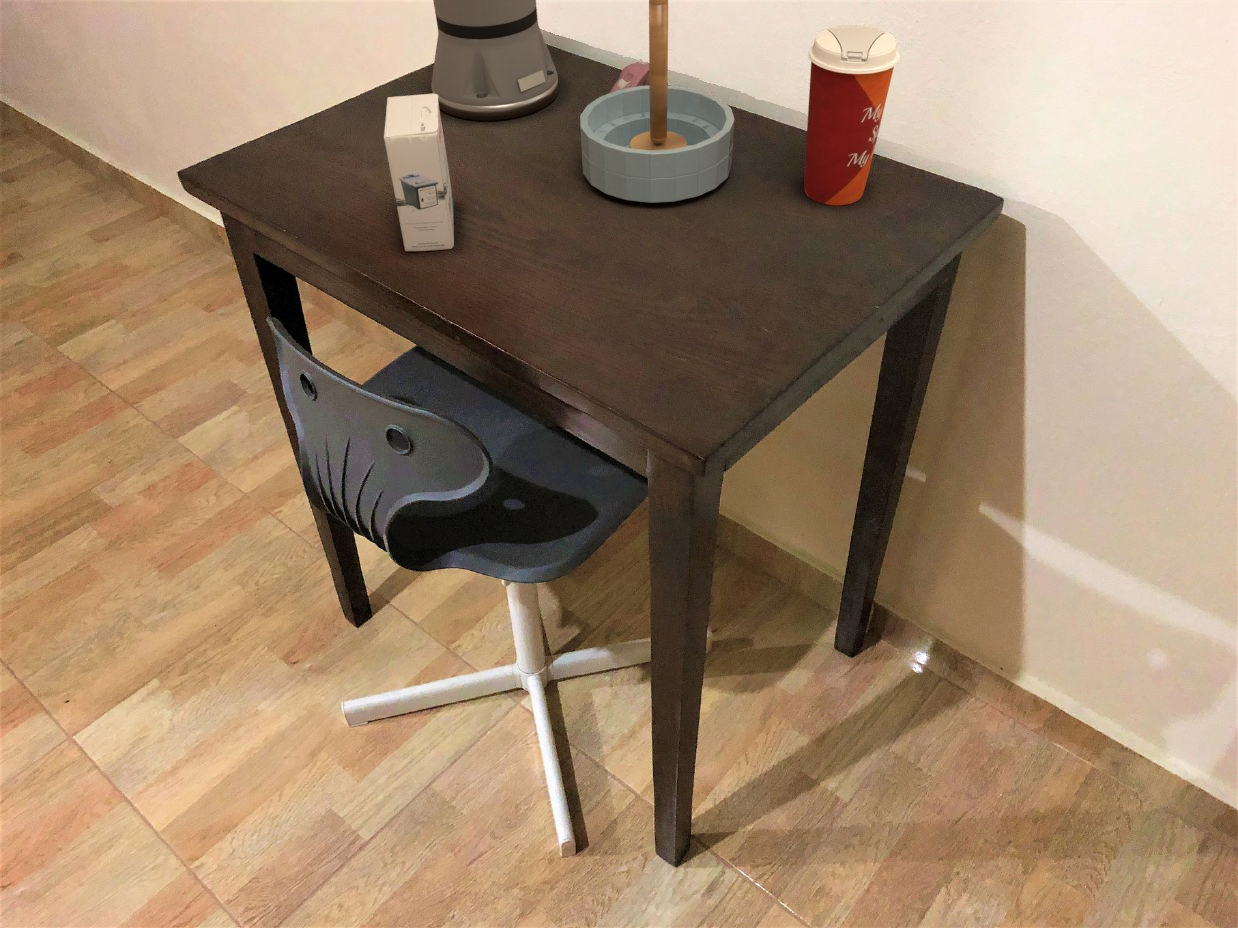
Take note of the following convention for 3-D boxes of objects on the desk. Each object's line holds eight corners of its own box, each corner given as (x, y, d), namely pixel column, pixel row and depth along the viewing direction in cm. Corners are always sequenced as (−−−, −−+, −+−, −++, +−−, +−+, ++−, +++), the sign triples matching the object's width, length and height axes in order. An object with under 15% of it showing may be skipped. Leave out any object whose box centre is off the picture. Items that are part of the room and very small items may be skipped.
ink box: (407, 208, 95) (384, 95, 87) (457, 204, 95) (438, 90, 87) (405, 254, 89) (379, 137, 80) (458, 249, 89) (437, 132, 81)
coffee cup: (874, 214, 91) (902, 60, 81) (790, 208, 93) (807, 55, 82) (875, 173, 97) (902, 24, 87) (795, 168, 98) (812, 20, 88)
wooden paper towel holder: (618, 162, 99) (613, -10, 87) (664, 146, 101) (665, -24, 89) (652, 184, 95) (651, 8, 83) (698, 167, 98) (704, -7, 85)
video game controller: (614, 147, 106) (639, 96, 101) (581, 124, 106) (604, 73, 101) (645, 111, 113) (670, 61, 107) (613, 89, 112) (637, 39, 107)
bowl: (554, 169, 100) (549, 115, 96) (664, 125, 106) (665, 72, 102) (647, 226, 91) (646, 169, 87) (761, 175, 98) (766, 119, 93)
